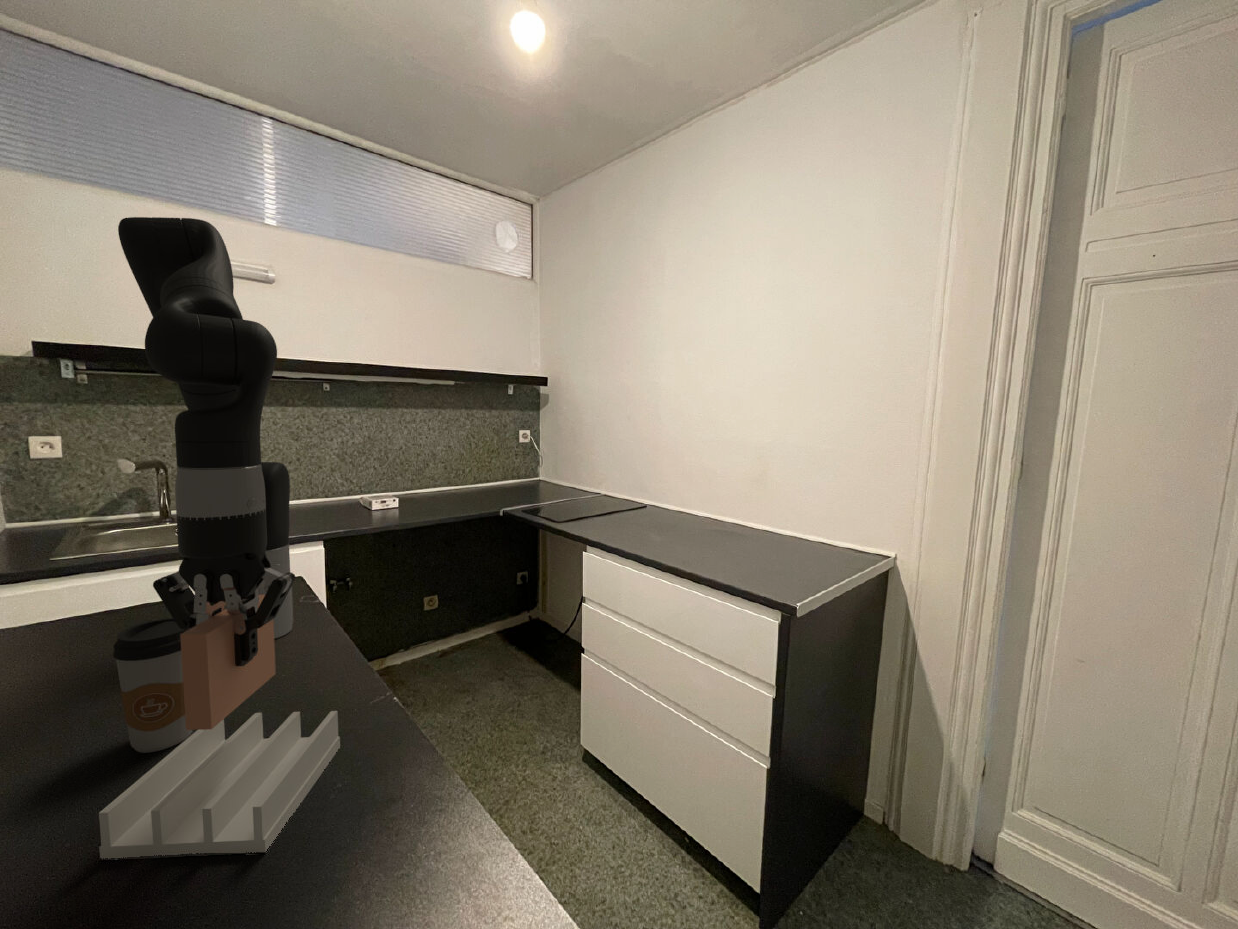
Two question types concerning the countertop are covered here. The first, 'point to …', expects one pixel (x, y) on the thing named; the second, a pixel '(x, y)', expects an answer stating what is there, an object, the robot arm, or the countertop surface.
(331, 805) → the countertop surface
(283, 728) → the dish rack
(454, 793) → the countertop surface
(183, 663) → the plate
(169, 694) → the coffee cup
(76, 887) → the countertop surface
